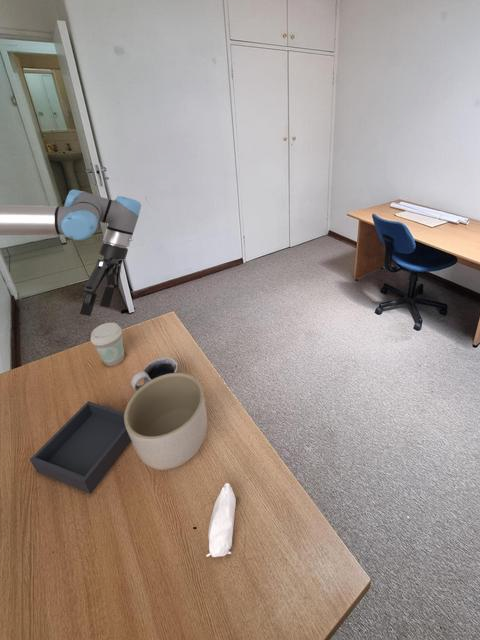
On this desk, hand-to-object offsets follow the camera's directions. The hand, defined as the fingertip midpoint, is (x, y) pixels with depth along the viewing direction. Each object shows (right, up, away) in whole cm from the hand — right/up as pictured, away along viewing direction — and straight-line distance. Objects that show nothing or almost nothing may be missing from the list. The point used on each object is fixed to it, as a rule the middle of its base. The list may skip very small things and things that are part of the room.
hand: (95, 310), depth 102 cm
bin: (+13, -29, -22) cm, 39 cm away
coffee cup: (+4, -17, +4) cm, 18 cm away
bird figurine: (+49, -36, -36) cm, 71 cm away
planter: (+33, -29, -21) cm, 49 cm away
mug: (+23, -22, -7) cm, 33 cm away
